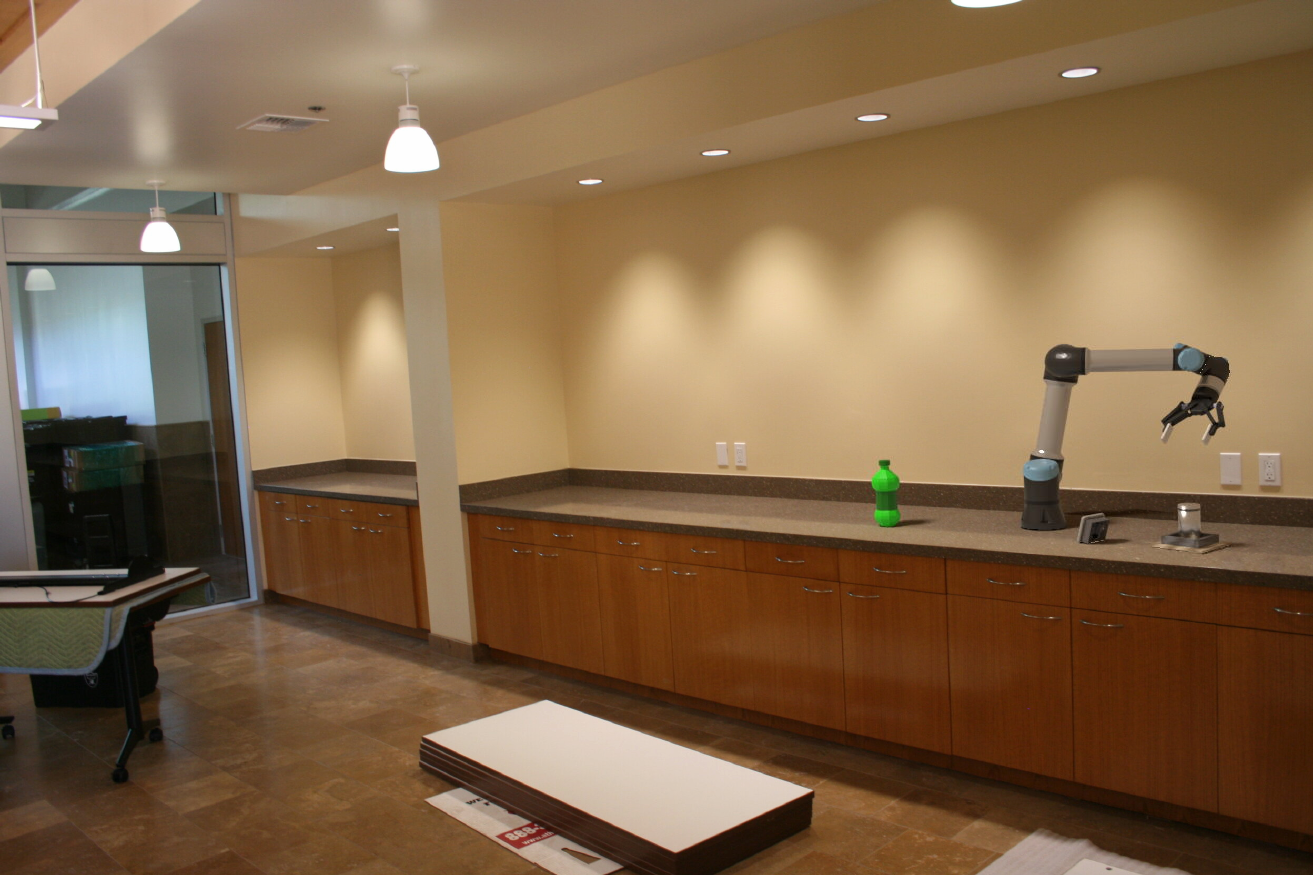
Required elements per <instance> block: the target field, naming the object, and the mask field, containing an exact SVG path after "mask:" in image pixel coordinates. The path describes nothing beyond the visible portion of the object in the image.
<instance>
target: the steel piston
mask: <svg viewBox="0 0 1313 875" xmlns="http://www.w3.org/2000/svg"><path fill="white" fill-rule="evenodd" d="M1176 508H1177V520H1178V521H1177V522H1178V523H1177V524H1178V529H1177V530H1178V531H1179V537H1182V538H1190V539H1199V538H1201V532H1202V527H1201V526H1202V525H1201V523H1202V522H1201V509H1202V508H1201V504H1200V503H1197V502H1181V503H1178V504H1177V507H1176Z"/></svg>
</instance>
